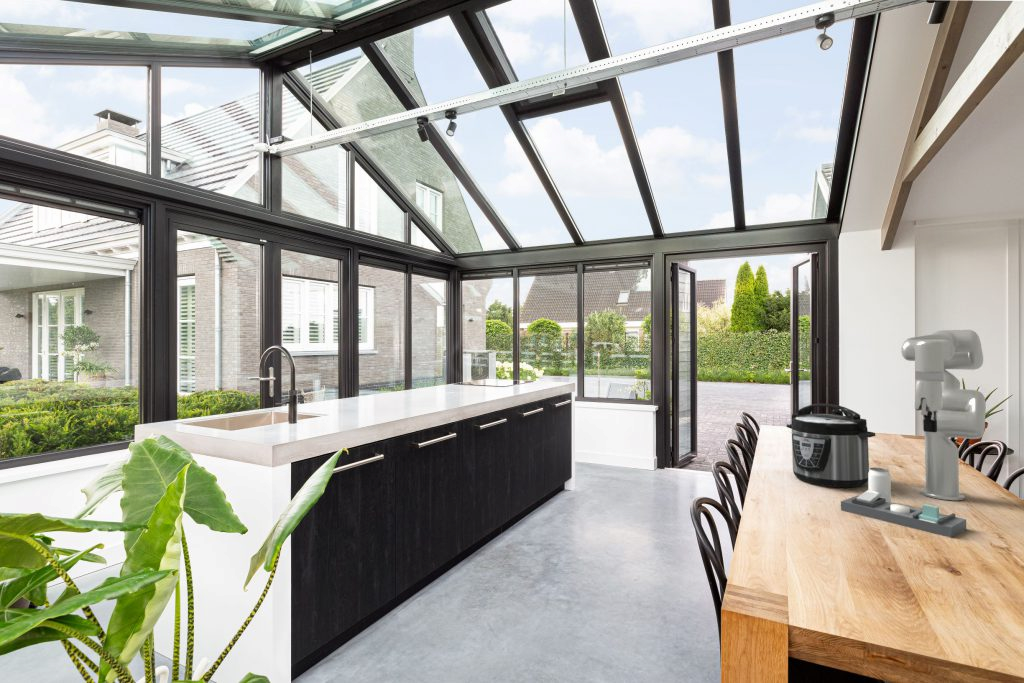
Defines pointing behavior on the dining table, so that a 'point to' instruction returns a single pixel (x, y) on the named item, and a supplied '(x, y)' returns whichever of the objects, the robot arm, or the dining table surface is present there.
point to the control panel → (905, 516)
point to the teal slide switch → (930, 513)
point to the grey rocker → (869, 496)
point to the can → (880, 482)
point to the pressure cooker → (830, 447)
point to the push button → (900, 508)
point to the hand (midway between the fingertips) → (930, 431)
